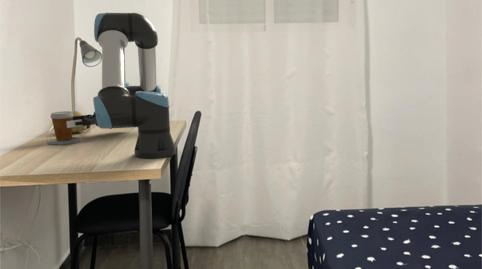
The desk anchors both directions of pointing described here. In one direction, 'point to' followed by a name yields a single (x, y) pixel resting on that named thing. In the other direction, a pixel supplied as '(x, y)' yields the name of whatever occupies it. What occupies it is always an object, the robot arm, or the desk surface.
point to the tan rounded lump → (79, 128)
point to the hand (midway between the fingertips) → (59, 123)
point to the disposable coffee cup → (62, 125)
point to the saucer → (55, 142)
